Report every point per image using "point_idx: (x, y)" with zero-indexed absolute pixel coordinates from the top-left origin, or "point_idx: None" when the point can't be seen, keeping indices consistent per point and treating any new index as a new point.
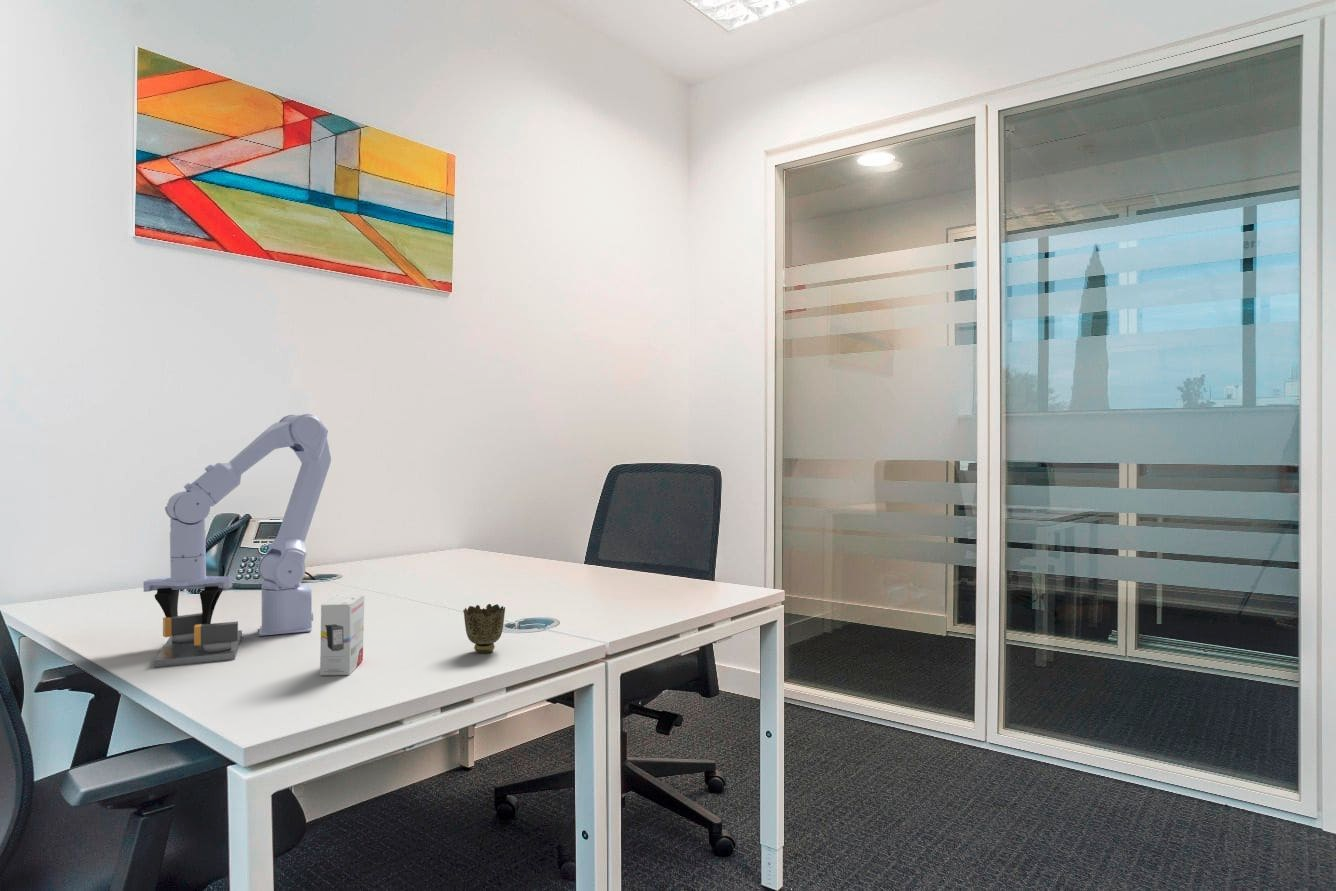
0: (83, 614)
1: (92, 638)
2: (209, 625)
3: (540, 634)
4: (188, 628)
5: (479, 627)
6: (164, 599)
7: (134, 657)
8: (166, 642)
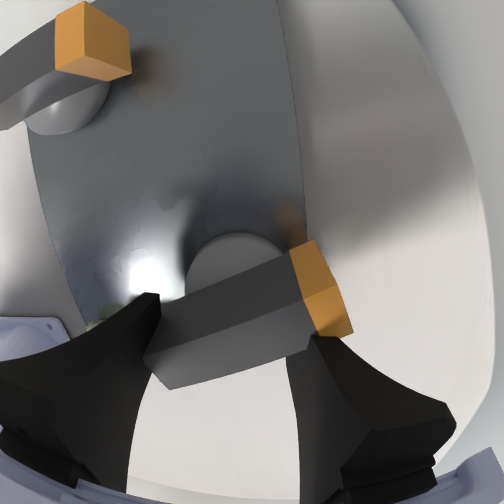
0: None
1: (459, 382)
2: (23, 46)
3: None
4: (220, 294)
5: None
6: (384, 409)
7: (386, 147)
8: None
